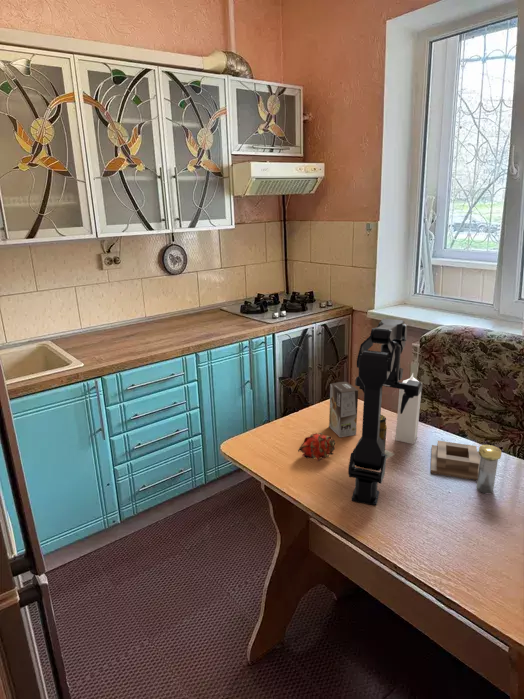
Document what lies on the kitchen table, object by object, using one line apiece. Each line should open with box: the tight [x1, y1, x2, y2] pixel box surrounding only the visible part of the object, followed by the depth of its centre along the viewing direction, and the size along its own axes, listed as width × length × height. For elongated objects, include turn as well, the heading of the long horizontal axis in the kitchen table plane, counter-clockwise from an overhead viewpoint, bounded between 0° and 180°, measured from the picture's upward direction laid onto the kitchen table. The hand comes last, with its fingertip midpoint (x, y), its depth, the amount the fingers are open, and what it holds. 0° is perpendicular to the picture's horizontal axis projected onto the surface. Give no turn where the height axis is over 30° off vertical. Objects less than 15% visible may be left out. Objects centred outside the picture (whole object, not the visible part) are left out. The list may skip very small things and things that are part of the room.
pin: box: [476, 444, 503, 494], centre depth 131 cm, size 5×5×12 cm
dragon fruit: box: [297, 432, 336, 462], centre depth 149 cm, size 8×8×12 cm
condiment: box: [379, 414, 396, 460], centre depth 151 cm, size 7×8×12 cm
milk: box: [395, 373, 422, 445], centre depth 158 cm, size 6×6×22 cm
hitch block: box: [430, 440, 481, 481], centre depth 145 cm, size 16×14×4 cm
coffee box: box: [328, 381, 359, 438], centre depth 165 cm, size 9×6×16 cm
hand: (386, 410), depth 149 cm, fingers open, 9 cm apart
